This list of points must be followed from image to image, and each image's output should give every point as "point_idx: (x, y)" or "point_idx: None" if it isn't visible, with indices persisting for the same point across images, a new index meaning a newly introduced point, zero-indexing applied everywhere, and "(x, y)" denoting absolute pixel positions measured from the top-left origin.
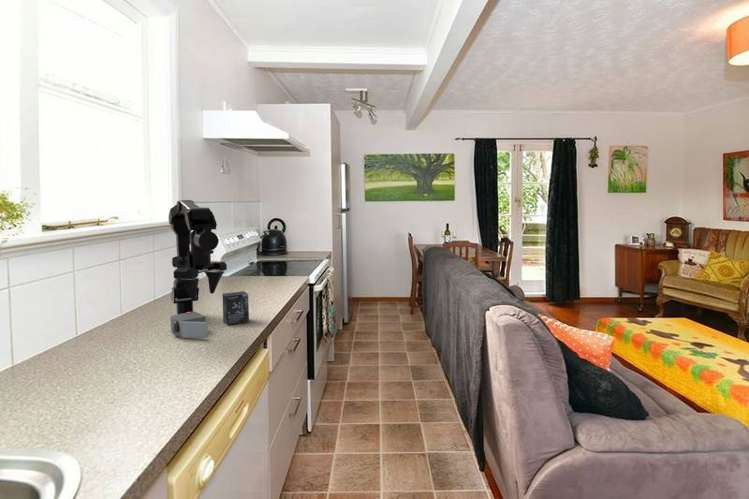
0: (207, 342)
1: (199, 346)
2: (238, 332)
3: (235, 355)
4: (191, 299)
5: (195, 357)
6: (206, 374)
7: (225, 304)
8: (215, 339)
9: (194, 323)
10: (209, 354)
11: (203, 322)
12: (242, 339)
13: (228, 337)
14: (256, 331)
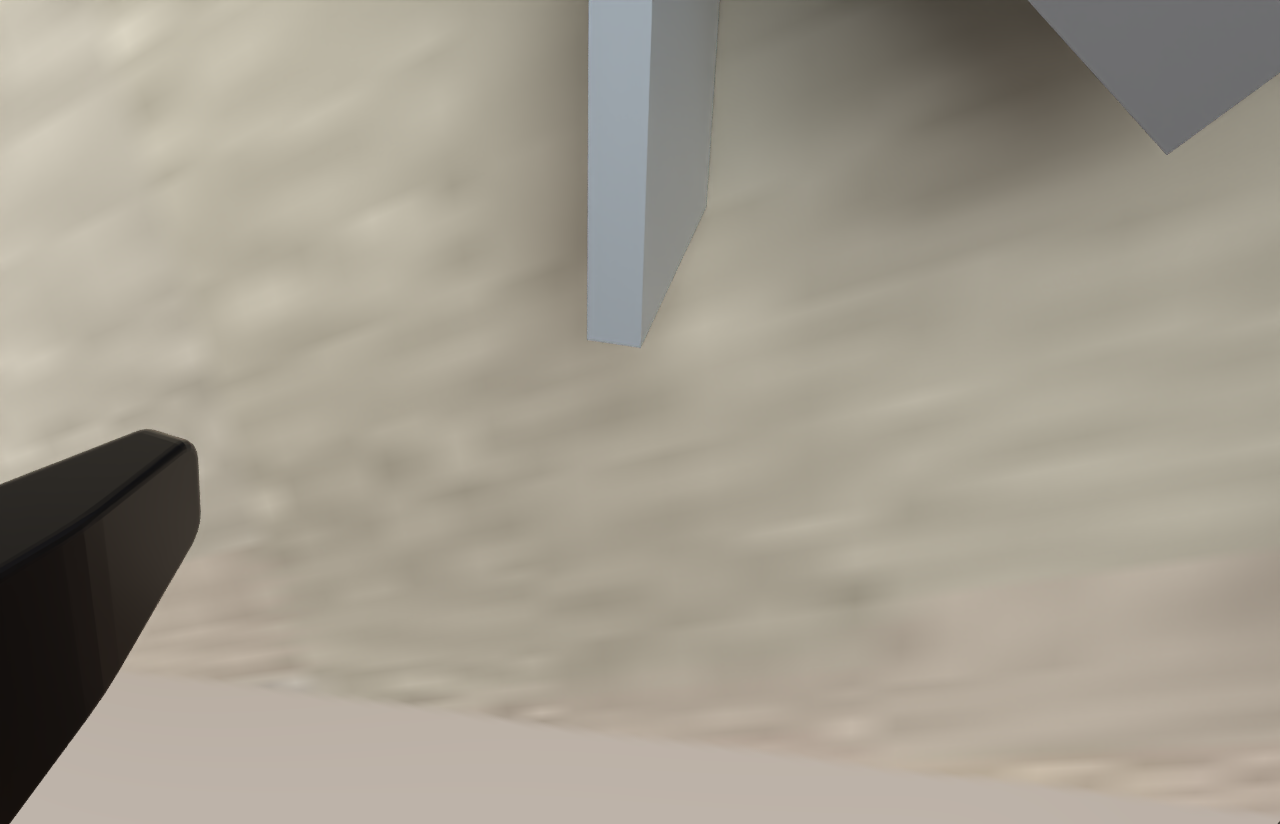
0: (545, 255)
1: (361, 205)
2: (1061, 556)
3: (203, 654)
4: (149, 437)
5: (14, 304)
6: None
7: None
8: (695, 325)
9: (594, 91)
10: (145, 421)
11: (618, 292)
12: (713, 646)
13: (799, 476)
14: (1083, 755)
